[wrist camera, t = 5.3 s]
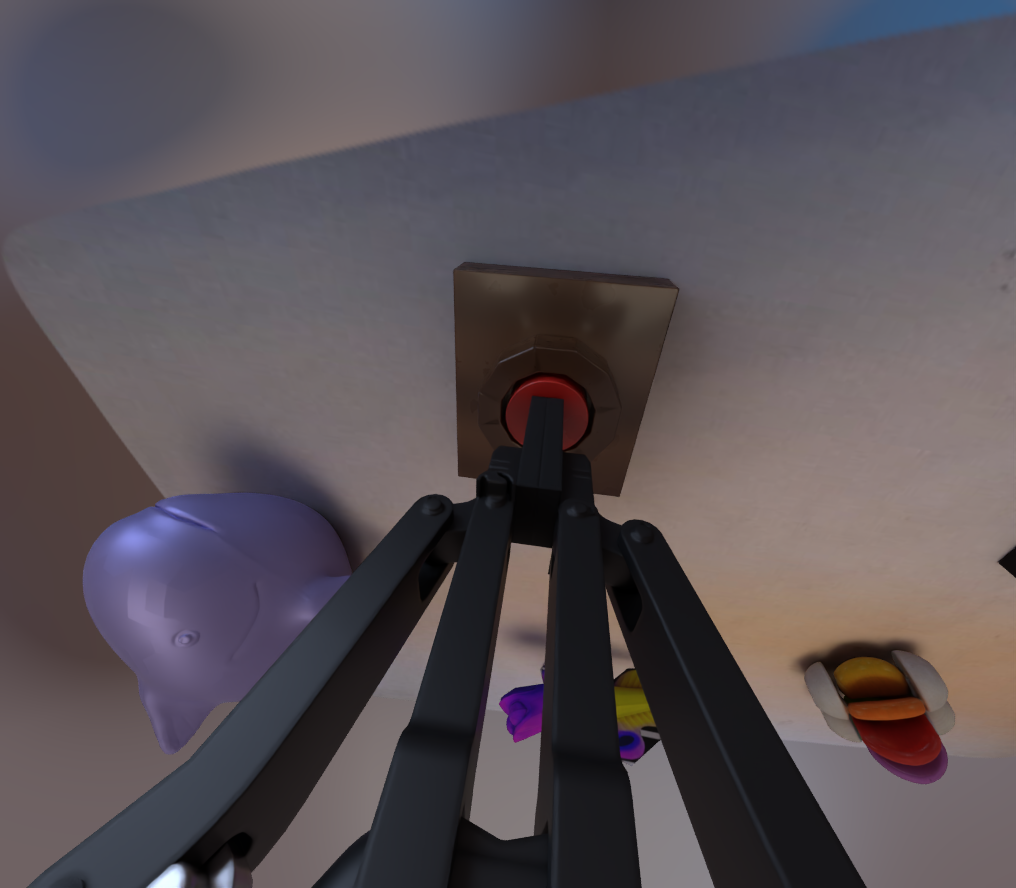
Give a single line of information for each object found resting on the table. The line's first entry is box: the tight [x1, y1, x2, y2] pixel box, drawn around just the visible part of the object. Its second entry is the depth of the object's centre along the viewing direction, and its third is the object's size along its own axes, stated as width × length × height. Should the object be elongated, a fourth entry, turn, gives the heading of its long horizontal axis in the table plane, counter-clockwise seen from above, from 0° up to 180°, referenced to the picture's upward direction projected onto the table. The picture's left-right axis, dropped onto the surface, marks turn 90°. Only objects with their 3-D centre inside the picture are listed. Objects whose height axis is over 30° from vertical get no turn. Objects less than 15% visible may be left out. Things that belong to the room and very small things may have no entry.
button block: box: [453, 262, 679, 497], centre depth 20 cm, size 12×10×4 cm
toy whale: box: [83, 493, 352, 754], centre depth 28 cm, size 14×25×16 cm, turn 9°
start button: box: [506, 372, 589, 450], centre depth 19 cm, size 4×4×2 cm
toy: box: [499, 665, 661, 766], centre depth 33 cm, size 12×19×10 cm, turn 84°
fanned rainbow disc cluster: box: [804, 650, 955, 784], centre depth 30 cm, size 8×10×7 cm
